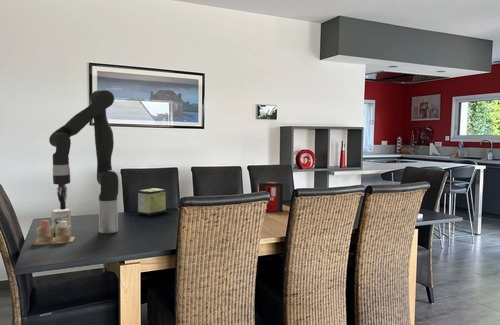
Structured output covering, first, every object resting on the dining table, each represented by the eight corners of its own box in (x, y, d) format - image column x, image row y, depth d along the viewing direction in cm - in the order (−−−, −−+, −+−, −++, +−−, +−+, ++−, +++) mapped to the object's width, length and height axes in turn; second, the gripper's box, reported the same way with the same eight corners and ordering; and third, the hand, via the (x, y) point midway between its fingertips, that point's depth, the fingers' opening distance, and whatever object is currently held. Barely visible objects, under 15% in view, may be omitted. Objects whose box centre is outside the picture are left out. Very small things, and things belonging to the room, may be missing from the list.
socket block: (74, 237, 197) (74, 224, 197) (72, 242, 189) (71, 228, 188) (37, 240, 193) (36, 226, 192) (32, 245, 184) (32, 230, 183)
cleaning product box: (258, 212, 267) (258, 183, 266) (257, 209, 276) (257, 181, 275) (282, 212, 268) (283, 183, 267) (280, 209, 277) (281, 181, 276)
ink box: (54, 233, 205) (53, 211, 204) (51, 231, 209) (51, 210, 208) (71, 231, 211) (70, 209, 210) (68, 229, 214) (68, 208, 214)
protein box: (166, 211, 266) (166, 189, 265) (148, 215, 253) (148, 191, 252) (155, 210, 271) (154, 187, 270) (137, 213, 258) (137, 190, 257)
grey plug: (67, 237, 194) (67, 220, 193) (66, 239, 191) (66, 221, 190) (60, 237, 193) (60, 220, 192) (59, 239, 190) (58, 222, 189)
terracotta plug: (49, 237, 191) (49, 220, 191) (48, 238, 188) (47, 221, 188) (42, 237, 190) (41, 220, 190) (40, 239, 187) (40, 221, 187)
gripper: (67, 175, 184) (69, 211, 185) (71, 172, 197) (73, 206, 198) (50, 175, 182) (52, 212, 183) (55, 172, 194) (57, 207, 196)
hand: (63, 209), depth 191 cm, fingers closed
